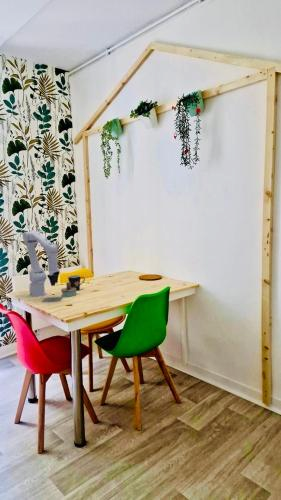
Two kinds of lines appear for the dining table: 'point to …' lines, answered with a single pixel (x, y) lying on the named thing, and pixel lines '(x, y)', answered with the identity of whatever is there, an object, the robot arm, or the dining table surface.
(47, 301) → the mat
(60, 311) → the dining table surface
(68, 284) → the lid
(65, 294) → the bowl
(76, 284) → the coffee mug
